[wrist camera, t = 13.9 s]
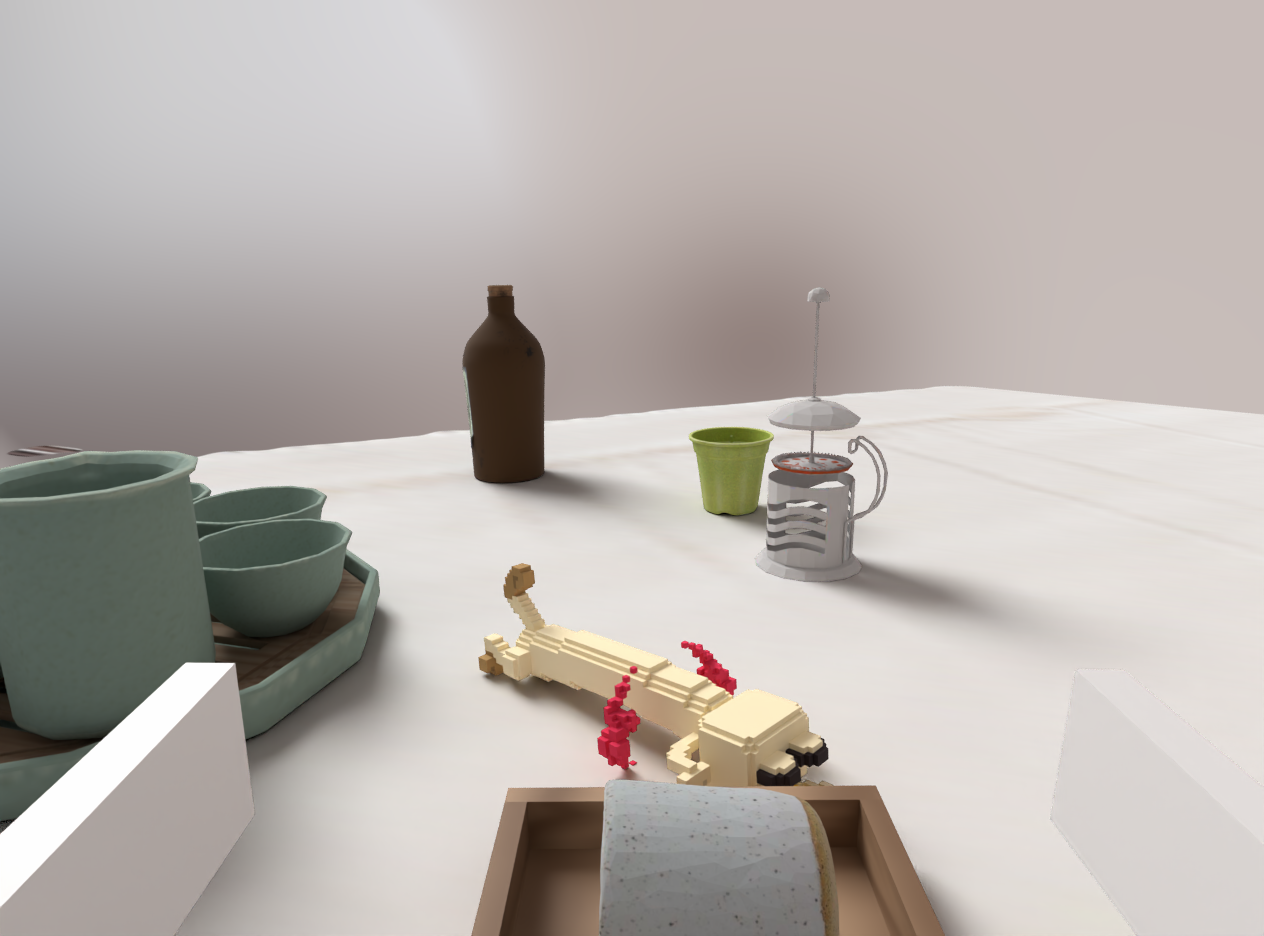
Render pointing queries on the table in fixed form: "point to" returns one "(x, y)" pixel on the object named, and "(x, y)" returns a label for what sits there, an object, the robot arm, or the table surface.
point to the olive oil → (505, 394)
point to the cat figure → (663, 701)
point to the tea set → (158, 601)
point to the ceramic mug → (713, 863)
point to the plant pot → (731, 467)
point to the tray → (571, 858)
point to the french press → (813, 493)
